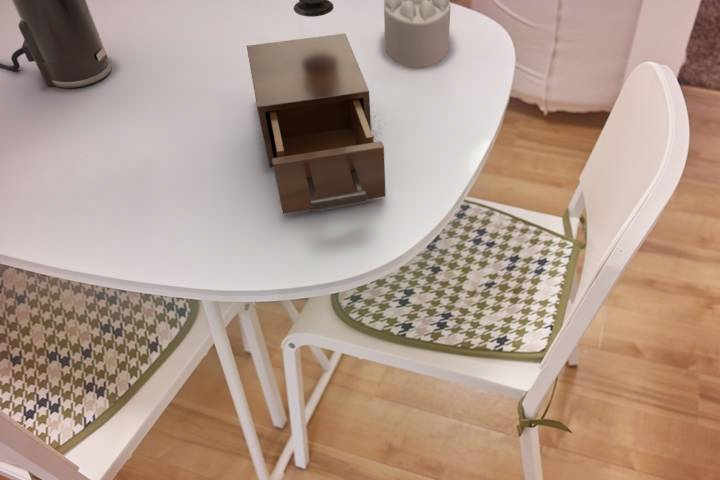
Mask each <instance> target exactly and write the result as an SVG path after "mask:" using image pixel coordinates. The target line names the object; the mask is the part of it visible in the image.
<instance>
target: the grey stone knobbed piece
mask: <svg viewBox="0 0 720 480" xmlns="http://www.w3.org/2000/svg"><path fill="white" fill-rule="evenodd" d="M333 10H334V4H333V2H332V1H330V0H298V1H297V2H296V3H295V4H294V6H293V11H294V12H295V13H296V14H297V15H299V16H303V17H309V18H314V17H321V16H325V15H327V14H329V13H331V12H333Z"/></svg>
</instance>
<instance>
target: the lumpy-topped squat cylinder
mask: <svg viewBox="0 0 720 480" xmlns="http://www.w3.org/2000/svg"><path fill="white" fill-rule="evenodd" d="M383 19H384V20H383V21H384V49H385V54H386V55H387V57H388V58H390V59H391V60H392V61H393V62H395V63H397V64H399V65H401V66H403V67H406V68H410V69H425V68H428V67H429V68H430V67H432V66H434V65H436V64H438V63H440V62H441V61H442V60H443V59H444V58H445V57H446V56H447V55H448V54H449V45H450V44H449V43H450V27H451V26H450V24H451V1H450V0H383Z"/></svg>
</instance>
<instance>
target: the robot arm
mask: <svg viewBox="0 0 720 480" xmlns="http://www.w3.org/2000/svg"><path fill="white" fill-rule="evenodd" d="M11 3H12V5H13V6H14V9H15V11H16V13H17V15H18V17H19V22H18V29H19V31H20V34H21V35H22V37H23V39H24V40H23V42H22V46H21V47H20V48H18V49H17V50H15V51H14V52H13V53H12V55H11V56H10V57H11V58H10V59H11V62H12V64H13V65H7V64H3V63H0V69H3V70H7V71H10V72H15V71H18V70H19V69H20V62H19V57H21V56H22V55H24V54H25V57H26V59H27V61H28V62H29V63H32V62H35V65H36V67H37V69H38V70H39V73H40V75H41V77H42V79H43V81H44V83H45V85H46V87H52V86H53V87H55V86H56V87H59V88H64V89H73V88H81V87H86V86H89V85H92V84H94V83H97V82H99V81H101V80H103V79H105V78H106V77H107V76H108V75H109V74H110V72H111V71H112V67H113V66H112V62H111V60H110V58H109V56H108V53H107V51H106V49H105V47H104V44H103V41H102V38H101V36H100V34H99V30H98V27H97V25H96V24H95V20H94V18H93V15H92V12H91V10H90V8H89V4H88V2H87V0H11Z"/></svg>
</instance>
